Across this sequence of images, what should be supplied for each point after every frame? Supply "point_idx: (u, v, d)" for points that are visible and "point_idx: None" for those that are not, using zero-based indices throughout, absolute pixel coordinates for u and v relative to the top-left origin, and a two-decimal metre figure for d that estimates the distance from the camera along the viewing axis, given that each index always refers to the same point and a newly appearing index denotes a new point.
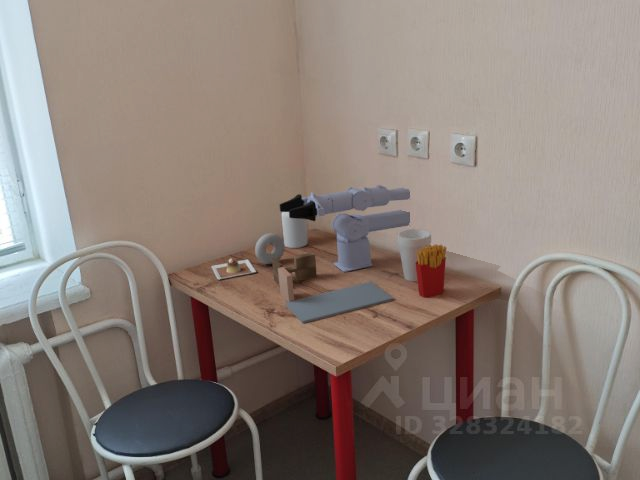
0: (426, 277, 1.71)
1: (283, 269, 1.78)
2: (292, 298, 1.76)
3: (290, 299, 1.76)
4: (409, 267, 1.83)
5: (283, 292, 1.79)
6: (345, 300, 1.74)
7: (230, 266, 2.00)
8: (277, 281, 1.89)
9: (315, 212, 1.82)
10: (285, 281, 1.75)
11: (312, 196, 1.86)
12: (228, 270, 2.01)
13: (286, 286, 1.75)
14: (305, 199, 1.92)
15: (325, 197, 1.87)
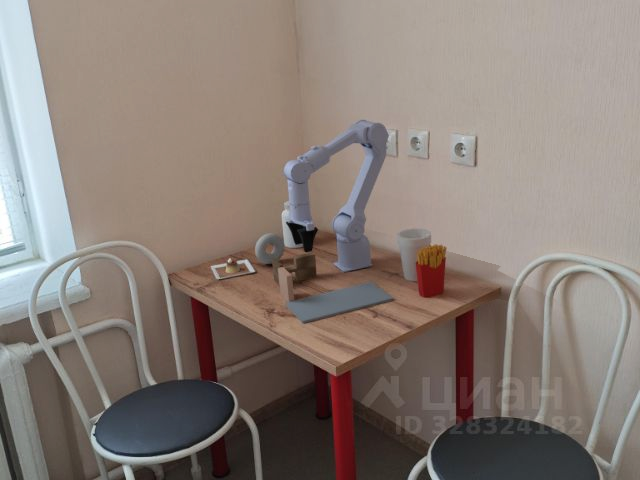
0: (427, 277, 1.71)
1: (283, 269, 1.78)
2: (292, 298, 1.76)
3: (290, 299, 1.76)
4: (409, 267, 1.83)
5: (283, 292, 1.79)
6: (345, 300, 1.74)
7: (229, 266, 2.00)
8: (277, 281, 1.89)
9: (309, 230, 1.82)
10: (285, 281, 1.75)
11: None
12: (227, 270, 2.01)
13: (286, 286, 1.75)
14: None
15: (293, 210, 1.83)
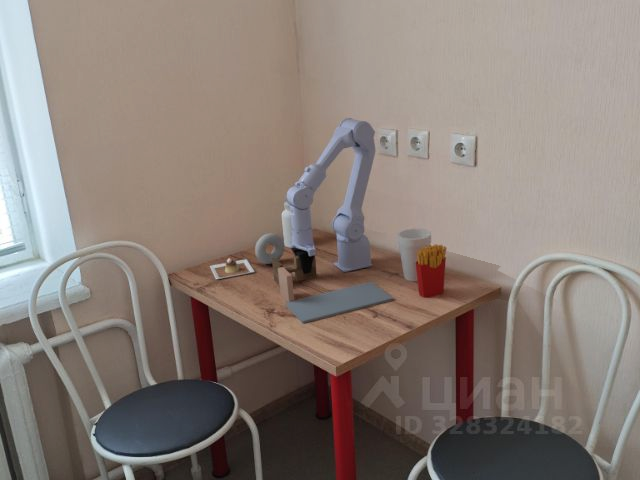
0: (427, 277, 1.71)
1: (283, 269, 1.78)
2: (292, 298, 1.76)
3: (290, 299, 1.76)
4: (409, 267, 1.83)
5: (283, 292, 1.79)
6: (345, 300, 1.74)
7: (228, 266, 2.00)
8: (277, 281, 1.89)
9: (308, 253, 1.86)
10: (285, 281, 1.75)
11: None
12: (226, 270, 2.01)
13: (286, 286, 1.75)
14: None
15: (296, 235, 1.86)
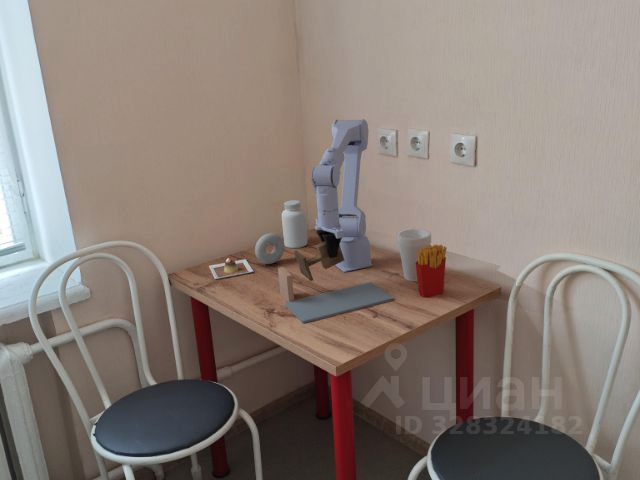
0: (427, 277, 1.71)
1: (283, 269, 1.78)
2: (292, 298, 1.76)
3: (290, 299, 1.76)
4: (409, 267, 1.83)
5: (283, 292, 1.79)
6: (345, 300, 1.74)
7: (227, 266, 2.01)
8: (304, 274, 1.80)
9: (335, 235, 1.76)
10: (285, 281, 1.75)
11: None
12: (225, 270, 2.01)
13: (286, 286, 1.75)
14: None
15: (322, 216, 1.75)
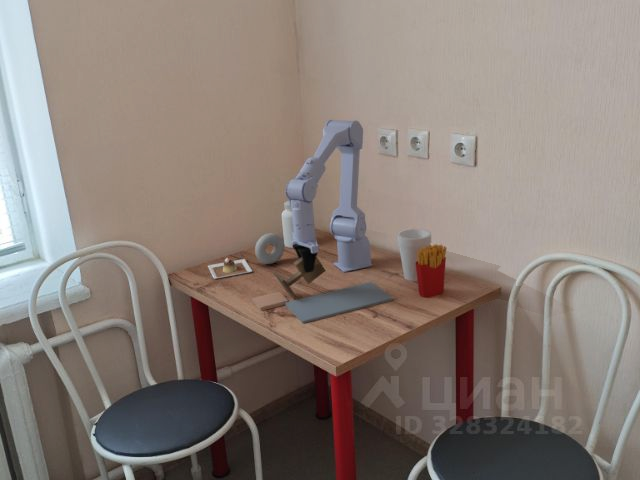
0: (427, 277, 1.71)
1: (254, 302, 1.77)
2: (283, 303, 1.75)
3: (284, 304, 1.76)
4: (409, 267, 1.83)
5: None
6: (345, 300, 1.74)
7: (226, 266, 2.01)
8: None
9: (310, 250, 1.74)
10: None
11: None
12: (224, 269, 2.01)
13: None
14: None
15: (297, 231, 1.73)
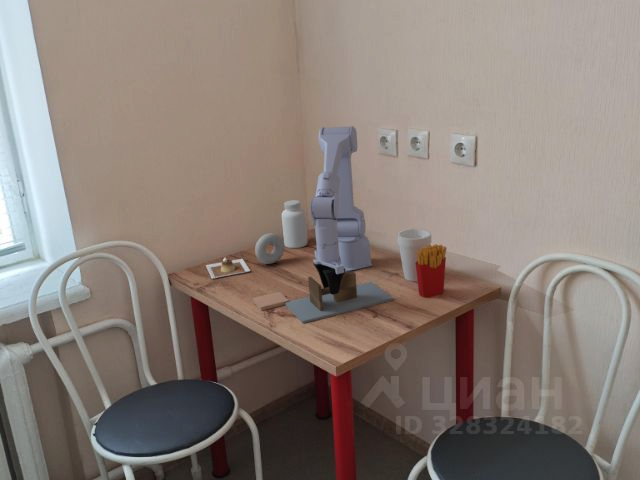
0: (427, 277, 1.71)
1: (254, 302, 1.77)
2: (284, 303, 1.75)
3: None
4: (409, 267, 1.83)
5: None
6: (345, 300, 1.74)
7: (224, 266, 2.01)
8: (314, 303, 1.72)
9: None
10: None
11: None
12: (222, 269, 2.02)
13: None
14: None
15: (321, 250, 1.66)
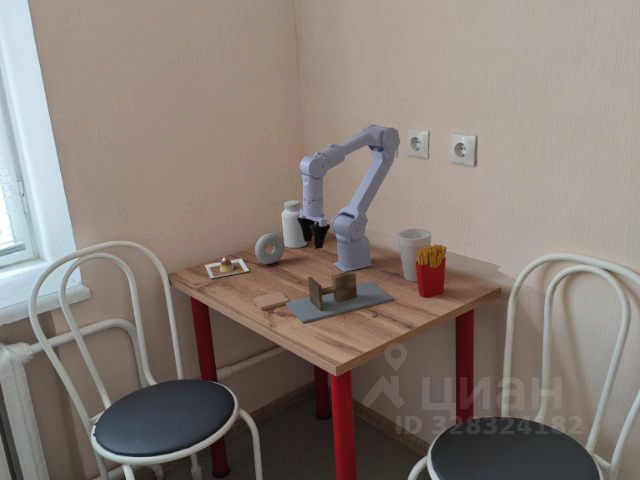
0: (426, 277, 1.71)
1: (254, 302, 1.78)
2: (284, 302, 1.75)
3: None
4: (409, 267, 1.83)
5: None
6: (345, 300, 1.74)
7: (223, 265, 2.02)
8: (314, 303, 1.72)
9: (322, 226, 1.82)
10: None
11: (303, 217, 1.85)
12: (221, 269, 2.02)
13: None
14: None
15: (307, 205, 1.83)
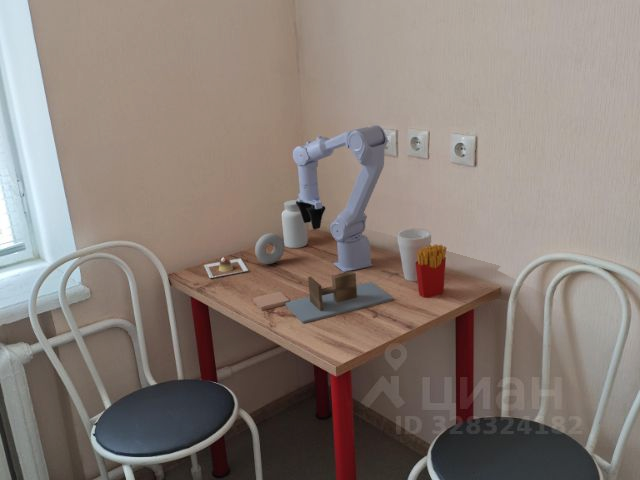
0: (427, 277, 1.71)
1: (255, 301, 1.78)
2: (284, 302, 1.75)
3: None
4: (409, 267, 1.83)
5: None
6: (345, 300, 1.74)
7: (222, 265, 2.02)
8: (314, 303, 1.72)
9: (318, 209, 1.98)
10: None
11: None
12: (220, 269, 2.02)
13: None
14: None
15: (303, 190, 1.99)
